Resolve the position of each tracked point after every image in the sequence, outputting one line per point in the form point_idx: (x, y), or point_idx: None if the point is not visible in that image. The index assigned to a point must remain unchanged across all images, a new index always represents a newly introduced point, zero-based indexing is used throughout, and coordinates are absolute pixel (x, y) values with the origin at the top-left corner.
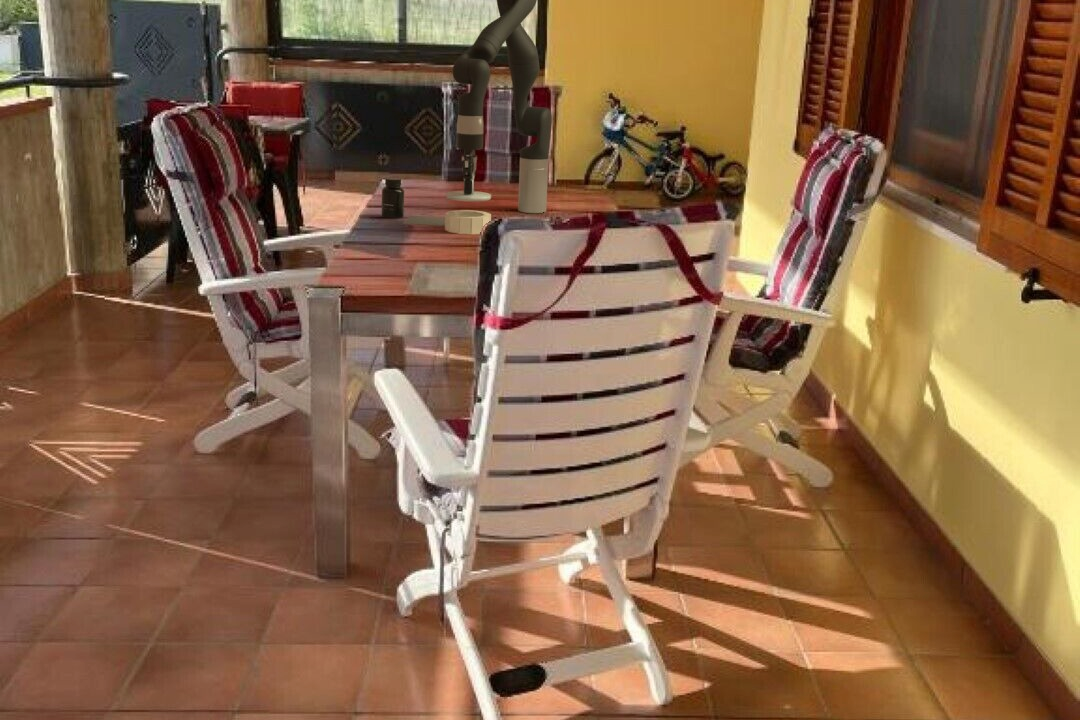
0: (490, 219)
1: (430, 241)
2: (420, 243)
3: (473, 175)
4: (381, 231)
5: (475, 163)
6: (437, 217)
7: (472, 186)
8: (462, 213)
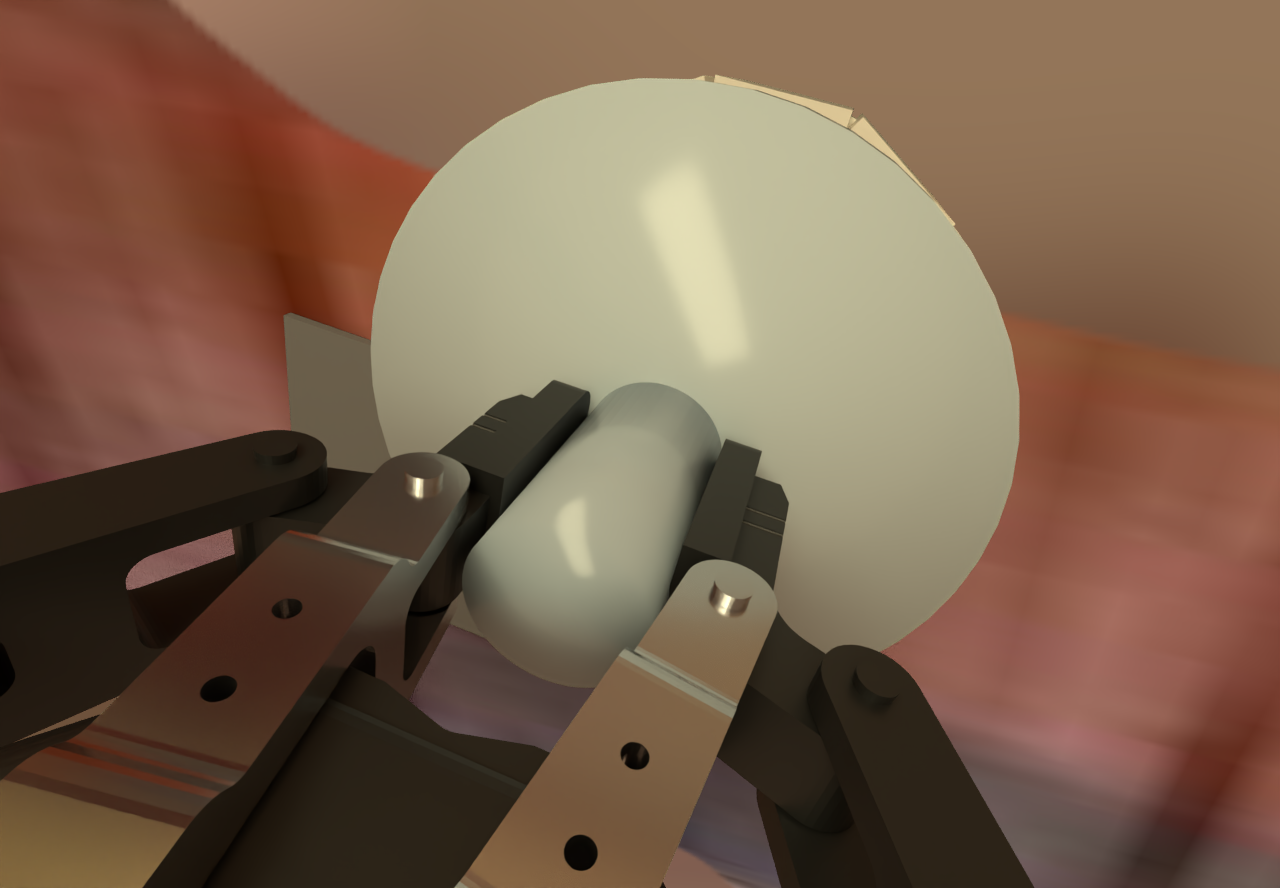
0: (778, 90)
1: (1136, 657)
2: (1197, 730)
3: (452, 519)
4: (735, 787)
5: (278, 734)
6: (301, 432)
7: (672, 468)
8: None
